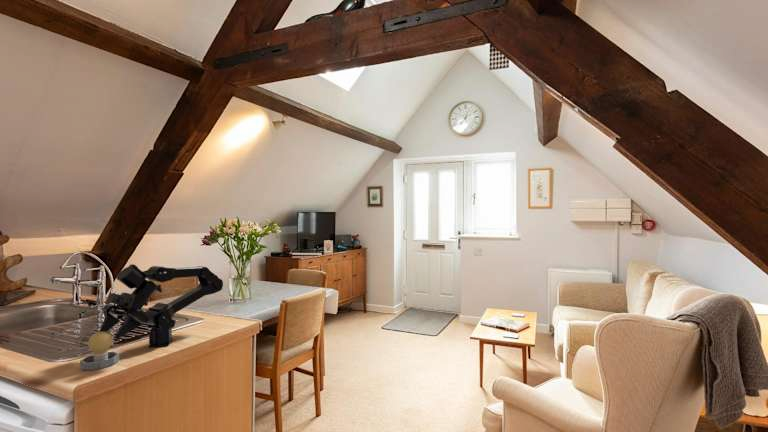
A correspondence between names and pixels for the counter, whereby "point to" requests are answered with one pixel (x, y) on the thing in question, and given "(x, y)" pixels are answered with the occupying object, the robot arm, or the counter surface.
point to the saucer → (91, 365)
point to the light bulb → (100, 345)
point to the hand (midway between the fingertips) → (107, 336)
